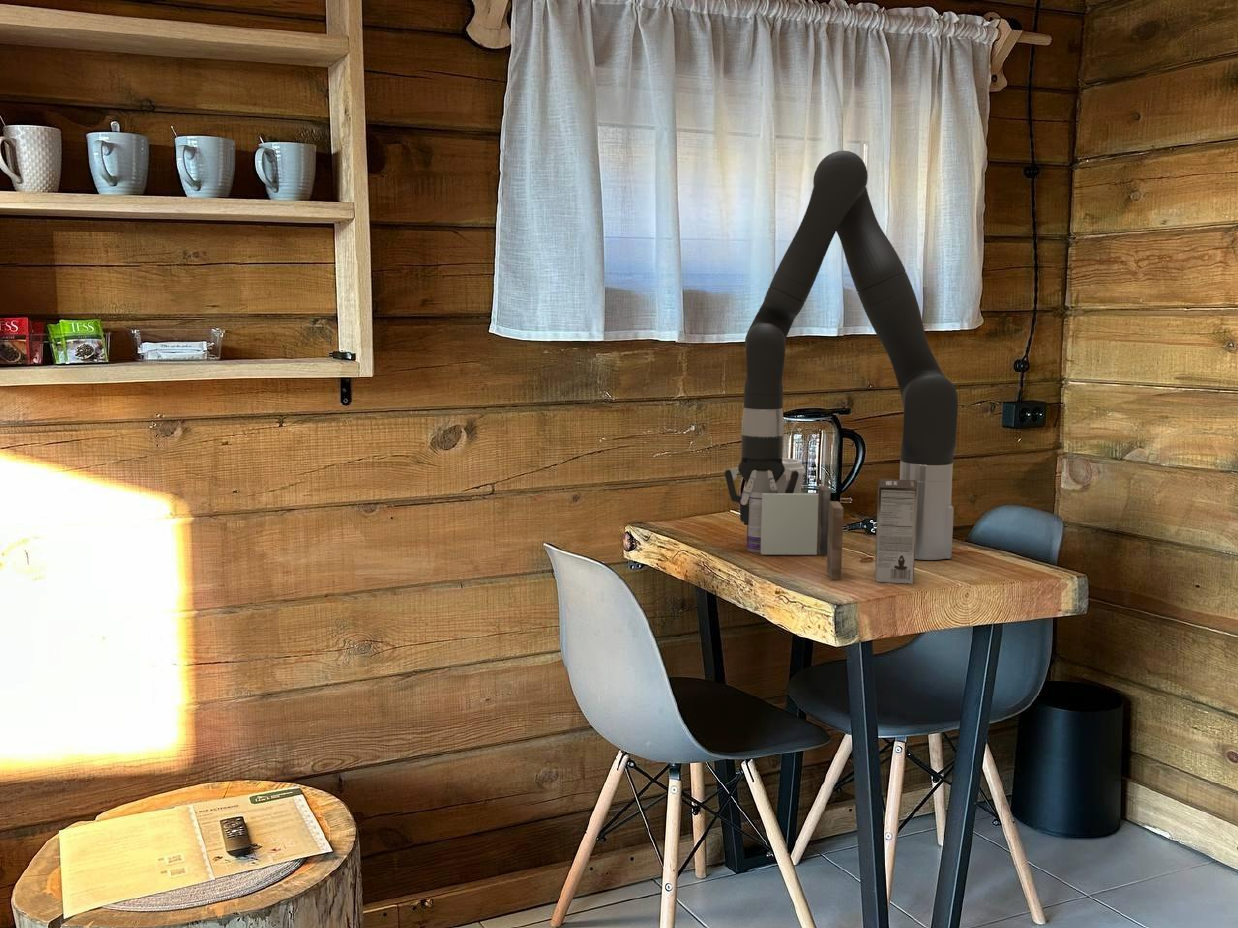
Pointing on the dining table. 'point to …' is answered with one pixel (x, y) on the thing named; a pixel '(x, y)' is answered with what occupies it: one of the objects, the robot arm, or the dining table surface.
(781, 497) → the door leaf
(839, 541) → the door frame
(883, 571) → the coffee box
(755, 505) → the container
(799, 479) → the coffee cup
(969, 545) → the dining table surface
